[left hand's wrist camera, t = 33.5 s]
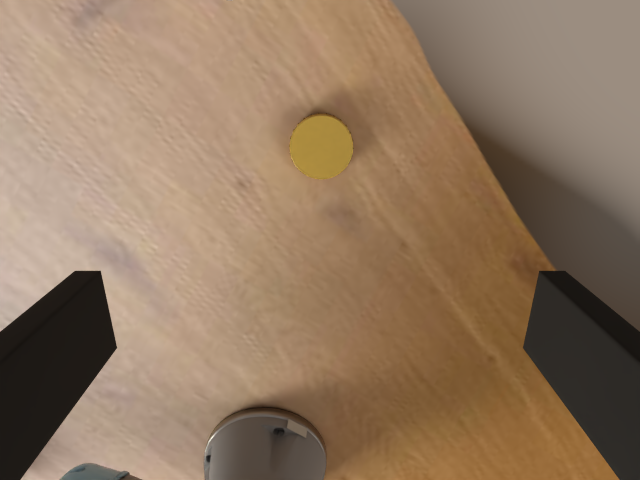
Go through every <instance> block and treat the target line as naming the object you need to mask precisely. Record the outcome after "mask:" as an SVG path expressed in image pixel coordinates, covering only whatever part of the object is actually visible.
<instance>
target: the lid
mask: <svg viewBox="0 0 640 480" xmlns="http://www.w3.org/2000/svg"><path fill="white" fill-rule="evenodd" d="M350 134H351V132H350V131H348V129H347V126H346V125H344V123H343V122H342V121H341V119H340V120H339V119H338V118H336V117H335V116H334V115H333V116H331V115H328V114H327V113H326V114H319V113H318V114H315V115H310V116H309V117H307V118H304V119H303V120H302V121H301V122H300V123H298V126H297V127H296V128H295V129H294V130H293V135H292V136H291V138H290V139H291V141H290V145H289V147H290V154H291V158H292V160H293V162H294V164H295V166H296V167H297V168H298V169H299V170H300V171H301V172H302V173H303V174H305V175H307V176H309V177H311V178H315V179H328V178H331V177H334V176H336V175H338V174H339V173H341V172H342V171H343V170H344V169H345V168H346V167H347V165H348V164H349V162H350V160H351V157H352V153H353V149H354V148H353V139H352V137H351V135H350Z"/></svg>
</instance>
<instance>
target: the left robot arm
mask: <svg viewBox="0 0 640 480" xmlns="http://www.w3.org/2000/svg"><path fill="white" fill-rule="evenodd" d="M116 348H117V346H116V341H115V337H114V332H113V327H112V322H111V318H110V313H109V308H108V303H107V299H106V294H105V289H104V285H103V280H102V275H101V271H74V272H73V273H72V274H71V275H69V276H68V277H67V278H66V279H65V280H63V281H62V282H61V283H60V284H58V285H57V286H56V287H55V288H53V289H52V290H51V291H50V292H49V293H47V294H46V295H45V296H44V297H42V298H41V299H40V300H39V301H38V302H36V303H35V304H34V305H33V306H31V307H30V308H29V309H28V310H27V311H25V312H24V313H23V314H22V315H20V316H19V317H18V318H17V319H15V320H14V321H13V322H12V323H11V324H9V325H8V326H7V327H6V328H4V329H3V330H2V331H1V332H0V480H20V479H21V478H22V477H23V475H24V474H25V473H26V471H27V470H28V468H29V467H30V466H31V464H32V463H33V462H34V460H35V459H36V458H37V456H38V455H39V453H40V452H41V451H42V449H43V448H44V447H45V445H46V444H47V443H48V441H49V440H50V438H51V437H52V436H53V434H54V433H55V432H56V430H57V429H58V428H59V426H60V425H61V423H62V422H63V421H64V419H65V418H66V417H67V415H68V414H69V413H70V411H71V410H72V408H73V407H74V406H75V404H76V403H77V402H78V400H79V399H80V398H81V396H82V395H83V393H84V392H85V391H86V389H87V388H88V387H89V385H90V384H91V383H92V381H93V380H94V378H95V377H96V376H97V374H98V373H99V372H100V370H101V369H102V368H103V366H104V365H105V363H106V362H107V361H108V359H109V358H110V357H111V355H112V354H113V353H114V351H115V350H116ZM523 348H524V350H525V351H526V353H527V354H528V355H529V357H530V358H531V359H532V361H533V362H534V363H535V365H536V366H537V368H538V369H539V370H540V372H541V373H542V374H543V376H544V377H545V378H546V380H547V381H548V383H549V384H550V385H551V387H552V388H553V389H554V391H555V392H556V393H557V395H558V396H559V398H560V399H561V400H562V402H563V403H564V404H565V406H566V407H567V408H568V410H569V411H570V413H571V414H572V415H573V417H574V418H575V419H576V421H577V422H578V423H579V425H580V426H581V428H582V429H583V430H584V432H585V433H586V434H587V436H588V437H589V438H590V440H591V441H592V443H593V444H594V445H595V447H596V448H597V449H598V451H599V452H600V453H601V455H602V456H603V458H604V459H605V460H606V462H607V463H608V464H609V466H610V467H611V468H612V470H613V471H614V473H615V474H616V475H617V477H618V478H619V479H620V480H640V332H639V331H638V330H637V329H635V328H634V327H633V326H632V325H631V324H629V323H628V322H627V321H626V320H624V319H623V318H622V317H621V316H620V315H618V314H617V313H616V312H615V311H613V310H612V309H611V308H610V307H609V306H607V305H606V304H605V303H604V302H602V301H601V300H600V299H599V298H598V297H596V296H595V295H594V294H593V293H591V292H590V291H589V290H588V289H587V288H585V287H584V286H583V285H582V284H580V283H579V282H578V281H577V280H575V279H574V278H573V277H572V276H571V275H569V274H568V273H567V272H566V271H539V275H538V280H537V285H536V289H535V294H534V299H533V303H532V308H531V313H530V318H529V322H528V327H527V332H526V337H525V341H524V346H523ZM325 470H326V448H325V444H324V441H323V439H322V437H321V435H320V433H319V432H318V431H317V430H316V428H315V427H314V426H313V425H311V424H310V423H309V422H308V421H306V420H305V419H303V418H302V417H300V416H298V415H296V414H294V413H291V412H288V411H285V410H281V409H275V408H252V409H247V410H243V411H240V412H237V413H235V414H233V415H230V416H229V417H227V418H225V419H224V420H223V421H221V422H220V423H219V424H218V425H217V426H216V427H215V429H214V430H213V432H212V433H211V435H210V437H209V440H208V443H207V447H206V450H205V456H204V475H205V480H323V479H324V475H325ZM60 480H142V479H139V478H137V477H134V476H132V475H130V473H129V472H127V471H122V472H120V471H117V470H113V469H110V468H106V467H103V466H100V465H97V464H93V463H86V464H81V465H78V466H76V467H74V468H73V469H71V470H70V471H69V472H67V473H66V474H65V475H64V476H63V477H62V478H61V479H60Z"/></svg>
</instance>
